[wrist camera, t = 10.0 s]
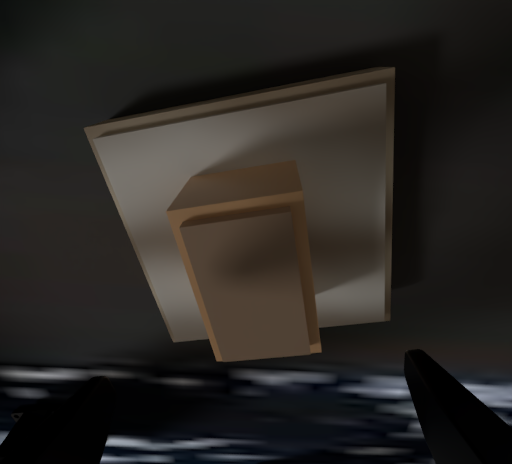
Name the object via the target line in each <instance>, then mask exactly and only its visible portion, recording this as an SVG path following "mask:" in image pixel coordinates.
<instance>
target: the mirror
mask: <svg viewBox="0 0 512 464" xmlns="http://www.w3.org/2000/svg"><path fill="white" fill-rule="evenodd" d="M394 100H395V67H374V68H369V69H363V70H358V71H353V72H348V73H343V74H338V75H333V76H328V77H323V78H318V79H313V80H307V81H302V82H297V83H292V84H287V85H282V86H277V87H272V88H267V89H262V90H257V91H252V92H246V93H241V94H236V95H231V96H226V97H221V98H216V99H211V100H206V101H201V102H196V103H190V104H185V105H180V106H175V107H170V108H165V109H160V110H155V111H150V112H145V113H140V114H134V115H129V116H124V117H119V118H114V119H109V120H106V121H103V122H100V123H97V124H94V125H91V126H88V127H85V128H84V130H85V133H86V135H87V137H88V140H89V142H90V145H91V147H92V149H93V152H94V154H95V157H96V159H97V161H98V164H99V166H100V168H101V171H102V173H103V176H104V178H105V180H106V183H107V185H108V188H109V190H110V192H111V195H112V197H113V200H114V202H115V204H116V207H117V209H118V211H119V214H120V216H121V219H122V221H123V223H124V226H125V228H126V231H127V233H128V235H129V238H130V240H131V242H132V245H133V247H134V250H135V252H136V254H137V257H138V259H139V262H140V264H141V266H142V269H143V271H144V274H145V276H146V278H147V281H148V283H149V285H150V288H151V290H152V293H153V295H154V297H155V300H156V302H157V305H158V307H159V309H160V312H161V314H162V317H163V319H164V321H165V324H166V326H167V328H168V331H169V333H170V336H171V338H172V340H173V342H182V341H192V340H202V339H209V337H208V334H207V331H206V328H205V325H204V322H203V319H202V316H201V314H200V311H199V308H198V305H197V302H196V299H195V296H194V293H193V290H192V287H191V284H190V281H189V278H188V275H187V272H186V269H185V266H184V263H183V261H182V258H181V255H180V252H179V249H178V246H177V243H176V240H175V237H174V234H173V231H172V228H171V225H170V222H169V219H168V216H167V213H166V210H167V209H168V208H169V206H170V205H171V204H172V202H173V201H174V199H175V198H176V197H177V195H178V194H179V192H180V191H181V190H182V188H183V187H184V186H185V184H186V183H187V181H188V180H189V179H190V177H194V176H200V175H206V174H212V173H218V172H224V171H230V170H236V169H243V168H249V167H255V166H261V165H267V164H273V163H279V162H285V161H292V160H295V161H296V165H297V169H298V173H299V177H300V181H301V185H302V190H303V197H304V205H305V214H306V222H307V231H308V240H309V248H310V257H311V265H312V274H313V283H314V291H315V300H316V308H317V317H318V325H319V328H322V327H332V326H342V325H352V324H362V323H372V322H382V321H390V307H391V255H392V203H393V152H394Z"/></svg>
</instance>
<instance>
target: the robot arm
mask: <svg viewBox="0 0 512 464" xmlns="http://www.w3.org/2000/svg"><path fill="white" fill-rule="evenodd" d="M404 374H405V378H406V381H407V385H408V388H409V391H410V394H411V397H412V400H413V403H414V406H415V410H416V413H417V416H418V419H419V422H420V425H421V428H422V431H423V434H424V437H425V439H426V442H427V444H428V447H429V449H430V451H431V454H432V456H433V458H434V460H435V463H436V464H512V428H511V427H510V426H509V425H508V424H506V423H505V422H504V421H503V420H502V419H501V418H500V417H498V416H497V415H496V414H495V413H494V412H493V411H492V410H490V409H489V408H488V407H487V406H486V405H485V404H484V403H482V402H481V401H480V400H479V399H478V398H477V397H476V396H474V395H473V394H472V393H471V392H470V391H469V390H468V389H466V388H465V387H464V386H463V385H462V384H461V383H459V382H458V381H457V380H456V379H455V378H454V377H453V376H451V375H450V374H449V373H448V372H447V371H446V370H445V369H443V368H442V367H441V366H440V365H439V364H438V363H437V362H435V361H434V360H433V359H432V358H431V357H430V356H429V355H427V354H426V353H425V352H424V351H423V350H420V349H415V350H407V351H406V352H405V361H404ZM116 401H117V393H116V390H115V389H114V387H113V385H112V384H111V382H110V380H109V379H108V377H106V376H97V377H93V378H91V379H90V380H89V381H88V382H87V383H86V384H84V385H83V386H82V387H81V388H80V389H79V390H78V391H77V392H76V393H75V394H74V395H72V396H71V397H70V398H69V399H68V400H67V401H66V402H65V403H64V404H63V405H61V406H51V407H39V408H26V409H16V410H14V412H13V413H12V414H11V416H12V418H13V419H14V420H15V421H16V422H17V423H16V424H15V425H14V427H13V428H12V430H11V431H10V432H9V434H8V435H7V437H6V438H5V439H4V441H3V442H2V444H1V445H0V464H100V461H101V458H102V454H103V451H104V448H105V444H106V440H107V436H108V432H109V429H110V425H111V421H112V417H113V413H114V409H115V405H116Z"/></svg>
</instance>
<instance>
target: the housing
mask: <svg viewBox="0 0 512 464" xmlns="http://www.w3.org/2000/svg"><path fill="white" fill-rule="evenodd" d="M166 213H167V216H168V219H169V222H170V225H171V228H172V231H173V234H174V237H175V240H176V243H177V246H178V249H179V252H180V255H181V258H182V261H183V263H184V266H185V269H186V272H187V275H188V278H189V281H190V284H191V287H192V290H193V293H194V296H195V299H196V302H197V305H198V308H199V311H200V314H201V316H202V319H203V322H204V325H205V328H206V331H207V334H208V337H209V340H210V343H211V346H212V349H213V352H214V355H215V358H216V361H223V362H231V361H242V360H254V359H265V358H276V357H288V356H299V355H311V353H319V352H322V351H321V343H320V334H319V325H318V317H317V308H316V300H315V291H314V283H313V274H312V265H311V257H310V248H309V240H308V231H307V222H306V214H305V205H304V197H303V190H302V185H301V181H300V177H299V173H298V169H297V165H296V161H295V160H292V161H285V162H279V163H273V164H267V165H261V166H255V167H249V168H243V169H236V170H230V171H224V172H218V173H212V174H206V175H200V176H194V177H190V179H189V180H188V181H187V183H186V184H185V186H184V187H183V188H182V190H181V191H180V192H179V194H178V195H177V197H176V198H175V199H174V201H173V202H172V204H171V205H170V206H169V208H168V209H167V210H166Z"/></svg>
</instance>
